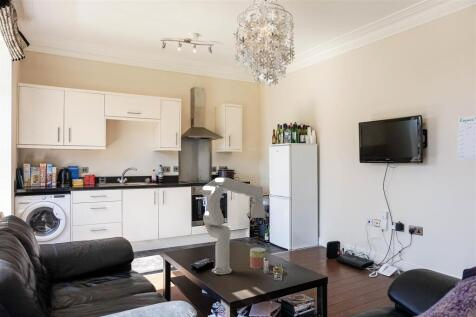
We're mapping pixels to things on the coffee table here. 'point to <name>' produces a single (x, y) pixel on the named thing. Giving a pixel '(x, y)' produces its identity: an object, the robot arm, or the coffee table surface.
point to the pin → (266, 265)
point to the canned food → (257, 257)
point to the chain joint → (278, 272)
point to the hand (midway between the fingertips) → (257, 224)
